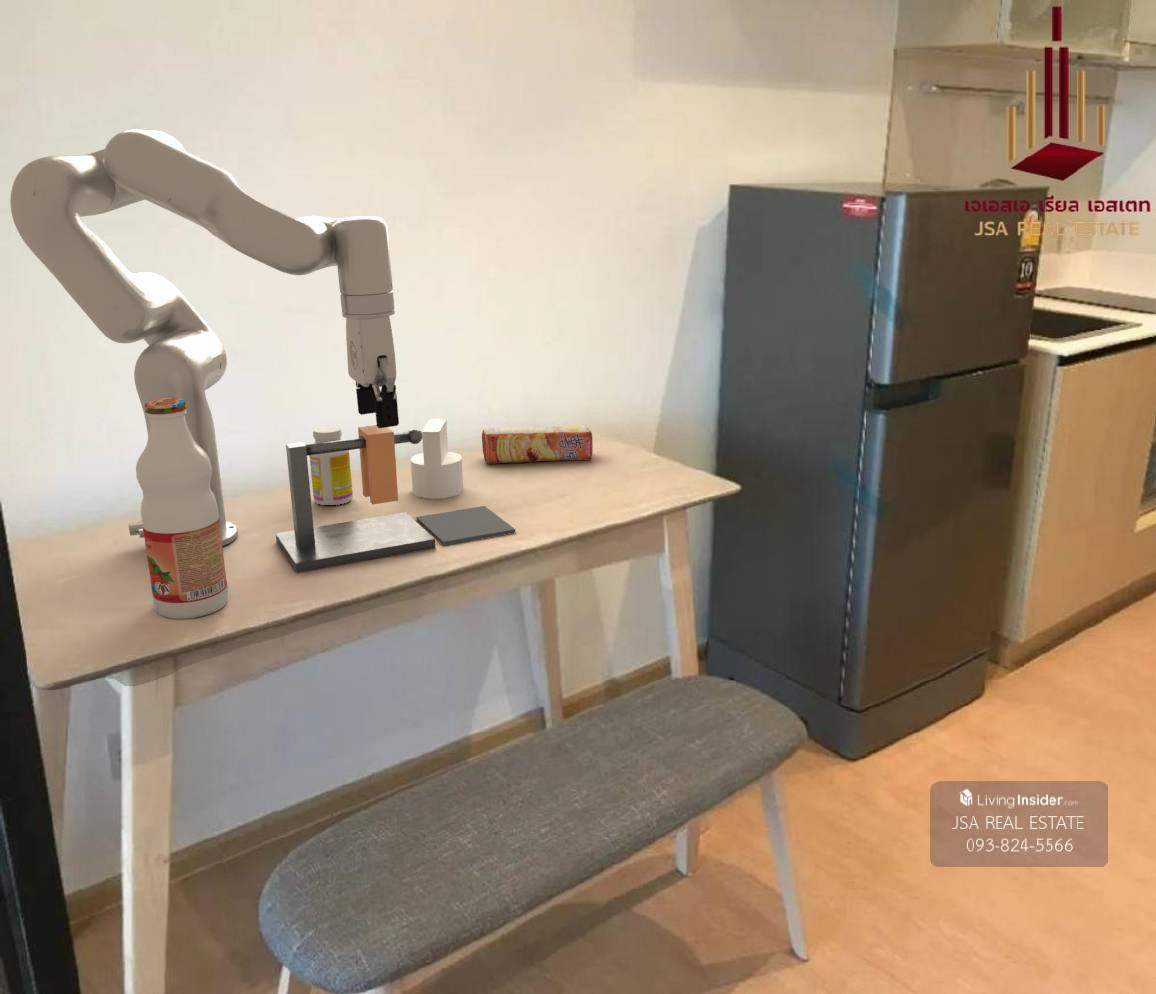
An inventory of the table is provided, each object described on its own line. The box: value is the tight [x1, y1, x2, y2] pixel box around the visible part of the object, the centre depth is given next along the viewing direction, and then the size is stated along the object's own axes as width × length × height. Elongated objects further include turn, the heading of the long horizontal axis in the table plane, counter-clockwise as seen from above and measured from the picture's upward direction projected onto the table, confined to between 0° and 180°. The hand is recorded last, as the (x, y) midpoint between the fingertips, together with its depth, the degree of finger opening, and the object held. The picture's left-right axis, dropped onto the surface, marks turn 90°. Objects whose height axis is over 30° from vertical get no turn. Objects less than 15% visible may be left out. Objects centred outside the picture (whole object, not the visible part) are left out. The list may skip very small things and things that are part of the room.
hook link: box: [357, 424, 399, 505], centre depth 161 cm, size 4×5×11 cm
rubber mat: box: [415, 505, 516, 547], centre depth 171 cm, size 12×13×1 cm
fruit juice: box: [135, 398, 229, 620], centre depth 138 cm, size 9×9×28 cm
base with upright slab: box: [410, 418, 464, 500], centre depth 187 cm, size 9×9×12 cm
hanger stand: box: [275, 427, 436, 574], centre depth 161 cm, size 22×14×17 cm, turn 117°
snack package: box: [481, 425, 594, 465], centre depth 206 cm, size 21×7×7 cm, turn 97°
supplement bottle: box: [309, 425, 354, 506], centre depth 182 cm, size 7×7×13 cm
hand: (378, 419), depth 159 cm, fingers open, 9 cm apart
